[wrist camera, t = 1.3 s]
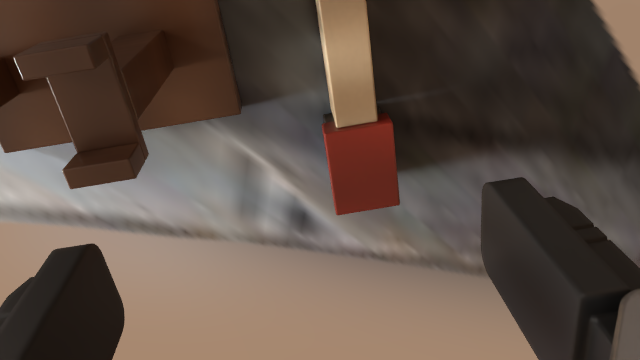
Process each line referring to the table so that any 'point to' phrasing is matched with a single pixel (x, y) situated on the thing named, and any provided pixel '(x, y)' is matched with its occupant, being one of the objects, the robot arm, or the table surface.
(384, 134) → the brush
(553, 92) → the table surface
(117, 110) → the rack
